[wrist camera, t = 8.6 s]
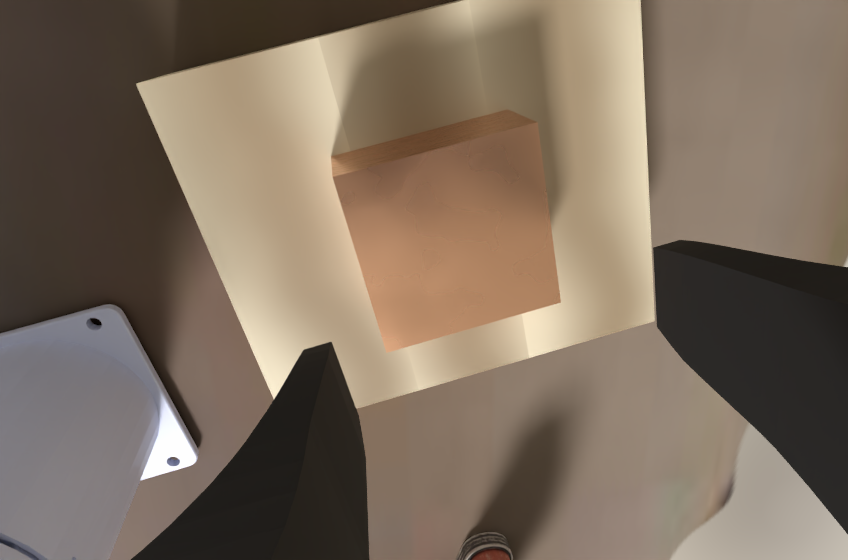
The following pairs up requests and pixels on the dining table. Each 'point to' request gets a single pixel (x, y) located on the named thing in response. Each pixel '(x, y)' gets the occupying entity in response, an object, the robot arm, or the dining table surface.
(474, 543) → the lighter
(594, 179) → the holder
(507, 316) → the orange brown block
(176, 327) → the dining table surface
